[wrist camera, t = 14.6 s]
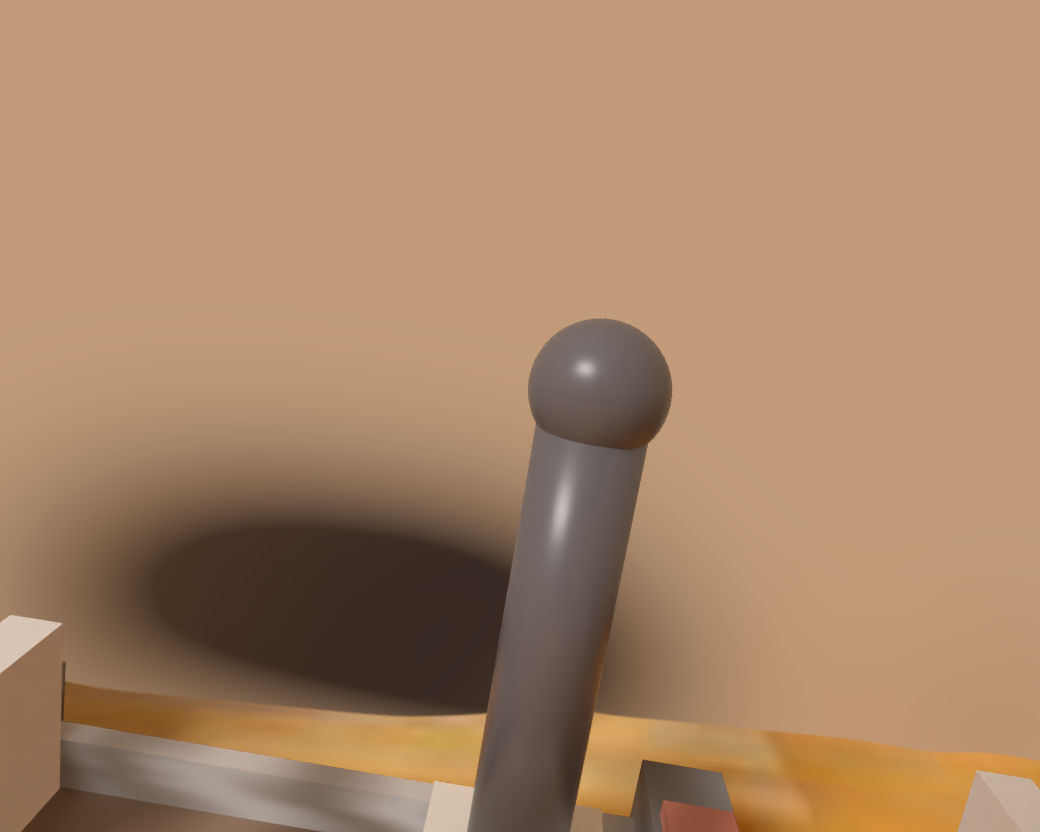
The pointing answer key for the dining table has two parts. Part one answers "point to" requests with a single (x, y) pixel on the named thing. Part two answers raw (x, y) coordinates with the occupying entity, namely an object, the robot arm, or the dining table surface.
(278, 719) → the dining table surface
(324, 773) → the rail bed
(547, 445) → the grey joystick lever
